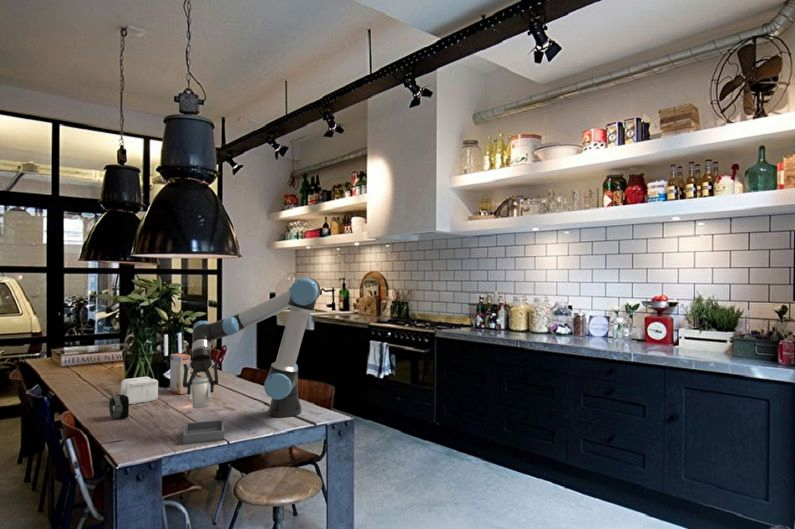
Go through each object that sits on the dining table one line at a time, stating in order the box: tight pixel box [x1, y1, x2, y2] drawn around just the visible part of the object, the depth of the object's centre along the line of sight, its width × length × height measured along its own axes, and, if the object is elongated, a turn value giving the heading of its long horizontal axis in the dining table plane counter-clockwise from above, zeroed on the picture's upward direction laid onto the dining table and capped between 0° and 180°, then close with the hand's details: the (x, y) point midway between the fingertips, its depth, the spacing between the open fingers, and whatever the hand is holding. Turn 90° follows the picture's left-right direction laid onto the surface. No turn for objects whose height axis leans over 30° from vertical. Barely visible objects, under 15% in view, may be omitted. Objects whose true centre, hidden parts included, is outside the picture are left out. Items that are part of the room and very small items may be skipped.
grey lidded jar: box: [192, 376, 210, 409], centre depth 197 cm, size 6×6×11 cm
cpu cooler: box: [108, 394, 130, 420], centre depth 223 cm, size 10×6×10 cm, turn 46°
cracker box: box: [169, 352, 192, 395], centre depth 274 cm, size 14×6×21 cm, turn 46°
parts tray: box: [182, 419, 225, 445], centre depth 197 cm, size 15×17×4 cm
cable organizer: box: [120, 376, 159, 405], centre depth 253 cm, size 15×11×12 cm
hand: (200, 399), depth 194 cm, fingers closed on grey lidded jar, 6 cm apart
